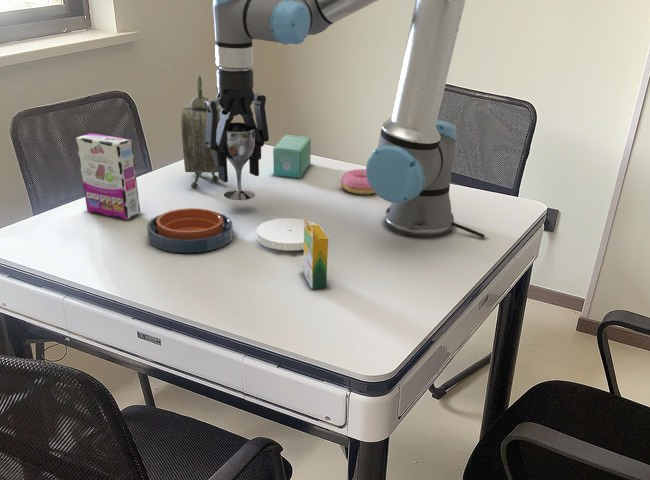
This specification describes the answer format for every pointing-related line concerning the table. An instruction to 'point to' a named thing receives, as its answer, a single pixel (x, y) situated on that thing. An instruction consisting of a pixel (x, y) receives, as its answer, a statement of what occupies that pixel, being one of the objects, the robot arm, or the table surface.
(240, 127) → the wine glass
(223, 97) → the robot arm
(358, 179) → the doughnut
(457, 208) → the table surface
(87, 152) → the candy bar box
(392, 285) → the table surface
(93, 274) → the table surface
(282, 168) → the box
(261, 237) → the plastic lid
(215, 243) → the serving bowl
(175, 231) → the small bowl
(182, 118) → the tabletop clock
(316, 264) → the crayon box
